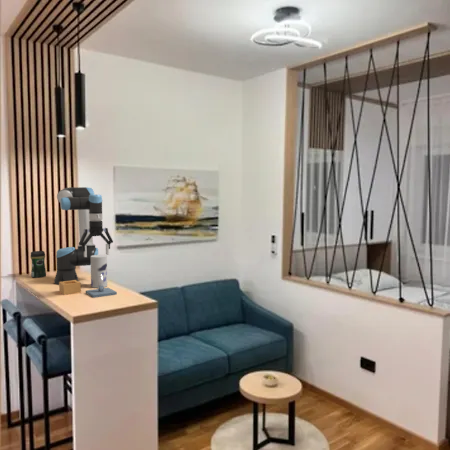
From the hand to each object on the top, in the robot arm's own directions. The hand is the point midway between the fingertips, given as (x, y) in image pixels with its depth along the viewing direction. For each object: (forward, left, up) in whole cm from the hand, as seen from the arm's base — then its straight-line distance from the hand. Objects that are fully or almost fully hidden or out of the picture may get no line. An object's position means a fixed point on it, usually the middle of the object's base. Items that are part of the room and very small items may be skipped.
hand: (96, 255), depth 256 cm
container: (-18, +7, -23) cm, 30 cm away
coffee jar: (-72, -18, -23) cm, 77 cm away
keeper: (+2, +1, -23) cm, 23 cm away
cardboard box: (-13, -13, -23) cm, 29 cm away
